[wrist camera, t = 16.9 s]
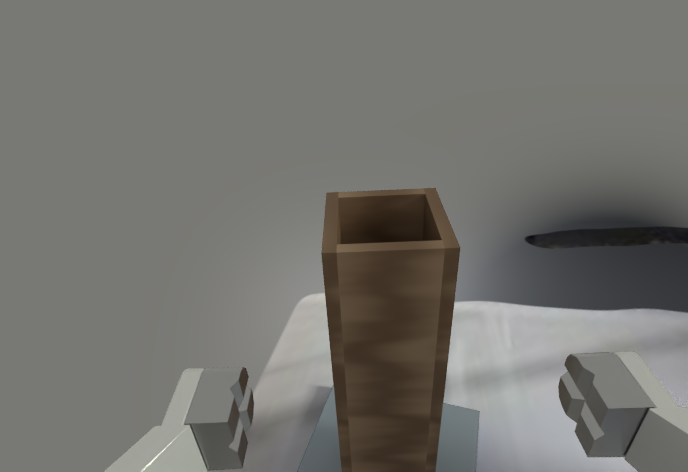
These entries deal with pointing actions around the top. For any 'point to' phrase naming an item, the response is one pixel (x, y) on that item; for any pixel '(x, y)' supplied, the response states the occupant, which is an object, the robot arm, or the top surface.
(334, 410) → the base plate
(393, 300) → the walnut sleeve
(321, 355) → the top surface
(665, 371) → the top surface
